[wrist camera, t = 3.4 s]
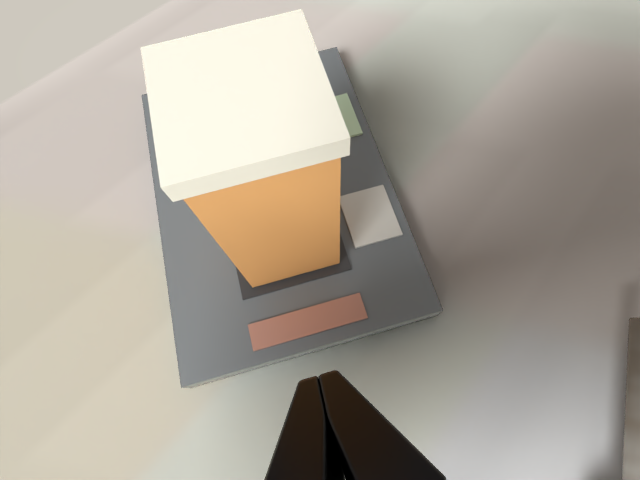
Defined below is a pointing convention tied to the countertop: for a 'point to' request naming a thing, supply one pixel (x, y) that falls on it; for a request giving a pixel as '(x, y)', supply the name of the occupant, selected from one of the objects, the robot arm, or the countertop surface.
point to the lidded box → (252, 142)
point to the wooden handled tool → (632, 405)
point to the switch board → (301, 290)
